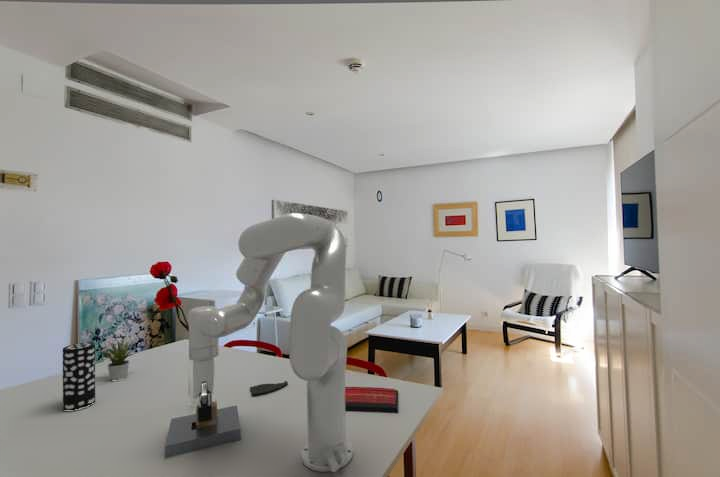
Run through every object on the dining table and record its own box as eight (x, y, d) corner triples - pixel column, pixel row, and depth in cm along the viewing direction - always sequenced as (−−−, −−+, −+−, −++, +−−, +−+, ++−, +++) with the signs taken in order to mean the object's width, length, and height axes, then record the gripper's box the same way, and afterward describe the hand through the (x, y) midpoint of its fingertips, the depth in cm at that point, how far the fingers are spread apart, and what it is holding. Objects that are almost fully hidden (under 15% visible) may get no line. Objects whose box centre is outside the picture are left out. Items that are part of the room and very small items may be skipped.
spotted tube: (97, 405, 111) (97, 345, 111) (64, 414, 105) (64, 351, 105) (93, 397, 117) (92, 341, 117) (61, 406, 111) (61, 346, 111)
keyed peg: (196, 439, 90) (196, 410, 90) (197, 433, 93) (196, 405, 93) (217, 434, 92) (216, 406, 92) (217, 429, 95) (216, 401, 95)
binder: (397, 407, 101) (330, 404, 104) (397, 415, 101) (331, 412, 104) (398, 387, 117) (340, 385, 120) (398, 393, 117) (340, 392, 120)
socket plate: (240, 439, 89) (240, 428, 89) (164, 458, 82) (164, 446, 82) (237, 415, 102) (236, 405, 102) (171, 429, 95) (171, 418, 95)
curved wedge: (290, 391, 120) (290, 387, 120) (251, 399, 114) (251, 394, 114) (286, 382, 127) (286, 378, 127) (249, 389, 122) (249, 385, 122)
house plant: (134, 368, 145) (134, 331, 145) (148, 375, 136) (148, 335, 137) (94, 379, 133) (94, 339, 133) (106, 387, 125) (106, 344, 125)
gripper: (191, 345, 99) (192, 402, 99) (186, 363, 83) (188, 431, 83) (218, 341, 102) (219, 397, 102) (219, 358, 86) (220, 424, 86)
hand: (205, 412), depth 92 cm, fingers open, 9 cm apart
